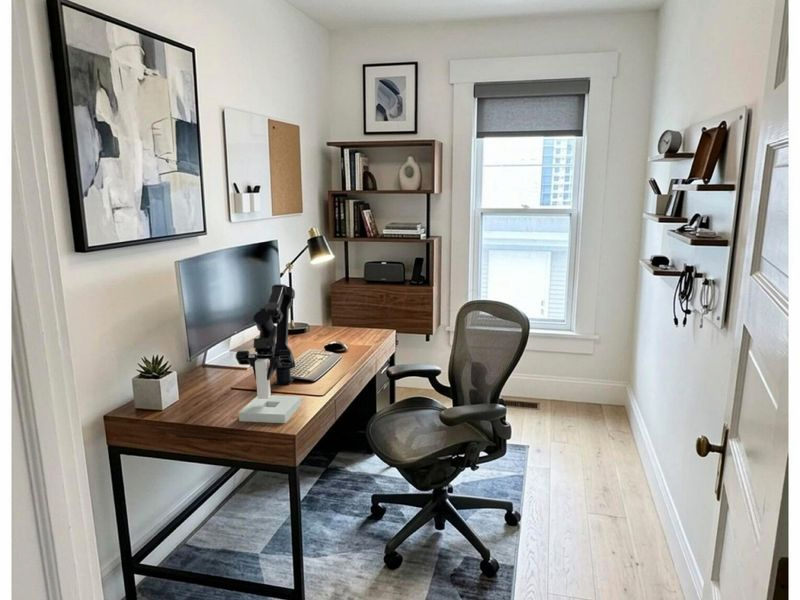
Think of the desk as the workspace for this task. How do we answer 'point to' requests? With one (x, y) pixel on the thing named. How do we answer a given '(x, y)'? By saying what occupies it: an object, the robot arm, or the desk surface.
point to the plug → (262, 378)
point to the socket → (270, 409)
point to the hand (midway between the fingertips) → (261, 379)
